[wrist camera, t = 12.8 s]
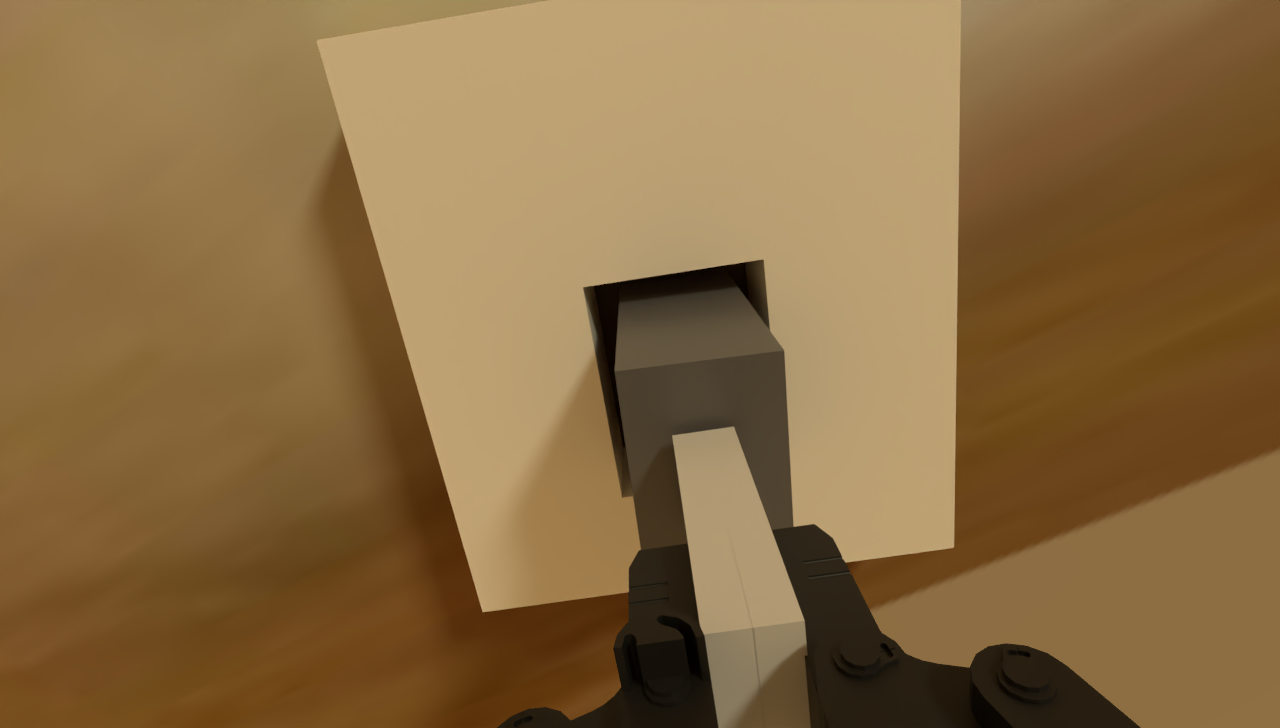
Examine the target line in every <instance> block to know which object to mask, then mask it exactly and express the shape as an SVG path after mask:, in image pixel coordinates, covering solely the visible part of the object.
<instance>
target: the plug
mask: <svg viewBox="0 0 1280 728" xmlns="http://www.w3.org/2000/svg"><path fill="white" fill-rule="evenodd" d="M615 378H616V385H617V391H618V398H619V405H620V412H621V418H622V425H623V432H624V439H625V445H626V452H627V459H628V466H629V472H630V479H631V486H632V493H633V499H634V506H635V513H636V520H637V526H638V533H639V540H640V547H641V550H645V549H652V548H659V547H666V546H673V545H681V544H688V541H687V534H686V527H685V520H684V513H683V506H682V499H681V493H680V486H679V479H678V472H677V465H676V458H675V451H674V445H673V438H672V435H679V434H686V433H693V432H700V431H706V430H713V429H720V428H727V427H734V428H735V431H736V434H737V436H738V439H739V442H740V445H741V447H742V450H743V453H744V456H745V458H746V461H747V464H748V467H749V469H750V472H751V475H752V478H753V480H754V483H755V486H756V489H757V491H758V494H759V497H760V500H761V502H762V505H763V508H764V511H765V513H766V516H767V519H768V522H769V524H770V527H771V530H775V529H782V528H789V527H794V525H793V506H792V487H791V468H790V449H789V430H788V411H787V393H786V374H785V355H784V349H783V348H782V347H781V345H780V344H779V343H778V341H777V340H776V338H775V337H774V336H773V334H772V333H771V332H770V330H769V329H768V327H767V326H766V325H765V323H764V322H763V321H762V319H761V318H760V316H759V315H758V314H757V312H756V311H755V310H754V308H753V307H752V305H751V304H750V303H749V301H748V300H747V298H746V297H745V296H744V294H743V293H742V292H741V290H740V289H739V287H738V286H737V285H736V283H735V282H734V281H733V279H732V278H731V276H730V275H729V274H728V272H727V271H726V270H725V268H722V269H715V270H707V271H699V272H691V273H683V274H675V275H667V276H660V277H652V278H644V279H636V280H628V281H621V282H620V295H619V311H618V326H617V341H616V357H615Z"/></svg>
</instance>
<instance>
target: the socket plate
mask: <svg viewBox="0 0 1280 728" xmlns="http://www.w3.org/2000/svg"><path fill="white" fill-rule="evenodd" d="M960 39H961V0H548V1H542V2H537V3H531V4H525V5H519V6H513V7H508V8H502V9H496V10H490V11H484V12H478V13H473V14H467V15H461V16H455V17H449V18H443V19H438V20H432V21H426V22H420V23H414V24H409V25H403V26H397V27H391V28H385V29H379V30H374V31H368V32H362V33H356V34H350V35H344V36H339V37H333V38H327V39H321V40H316V41H317V44H318V48H319V51H320V54H321V58H322V61H323V65H324V68H325V72H326V75H327V79H328V82H329V85H330V89H331V92H332V96H333V99H334V103H335V106H336V110H337V113H338V116H339V120H340V123H341V127H342V130H343V134H344V137H345V140H346V144H347V147H348V151H349V154H350V158H351V161H352V165H353V168H354V171H355V175H356V178H357V182H358V185H359V189H360V192H361V196H362V199H363V202H364V206H365V209H366V213H367V216H368V220H369V223H370V226H371V230H372V233H373V237H374V240H375V244H376V247H377V251H378V254H379V257H380V261H381V264H382V268H383V271H384V275H385V278H386V282H387V285H388V288H389V292H390V295H391V299H392V302H393V306H394V309H395V312H396V316H397V319H398V323H399V326H400V330H401V333H402V337H403V340H404V343H405V347H406V350H407V354H408V357H409V361H410V364H411V368H412V371H413V374H414V378H415V381H416V385H417V388H418V392H419V395H420V398H421V402H422V405H423V409H424V412H425V416H426V419H427V423H428V426H429V429H430V433H431V436H432V440H433V443H434V447H435V450H436V454H437V457H438V460H439V464H440V467H441V471H442V474H443V478H444V481H445V484H446V488H447V491H448V495H449V498H450V502H451V505H452V509H453V512H454V515H455V519H456V522H457V526H458V529H459V533H460V536H461V540H462V543H463V546H464V550H465V553H466V557H467V560H468V564H469V567H470V570H471V574H472V577H473V581H474V584H475V588H476V591H477V595H478V598H479V601H480V605H481V608H482V612H488V611H495V610H503V609H510V608H517V607H525V606H532V605H539V604H546V603H554V602H561V601H568V600H576V599H583V598H590V597H598V596H605V595H612V594H619V593H627V592H629V567H630V565H631V563H632V562H633V560H634V558H635V556H636V555H637V553H638V551H639V550H641V547H640V540H639V533H638V526H637V520H636V513H635V506H634V499H633V493H632V486H631V479H630V472H629V466H628V459H627V452H626V447H623V443H622V438H621V432H620V427H619V421H618V416H617V410H616V404H615V399H614V393H613V388H612V382H611V377H610V371H609V366H608V360H607V355H606V349H605V344H604V338H603V333H602V327H601V321H600V316H599V310H598V305H597V299H596V294H595V288H594V286H595V285H601V284H608V283H614V282H621V281H627V280H633V279H640V278H646V277H653V276H659V275H666V274H672V273H679V272H685V271H692V270H698V269H705V268H711V267H717V266H724V265H730V264H737V263H743V262H745V269H746V279H747V289H748V299H749V303H750V304H751V305H752V307H753V308H754V310H755V311H756V312H757V314H758V315H759V316H760V318H761V319H762V321H763V322H764V323H765V325H766V326H767V327H768V329H769V330H770V332H771V333H772V334H773V336H774V337H775V338H776V340H777V341H778V343H779V344H780V345H781V347H782V348H783V349H784V355H785V374H786V393H787V411H788V430H789V449H790V468H791V487H792V506H793V525H794V527H796V526H803V525H811V524H815V525H816V526H818V527H819V528H820V529H822V530H823V531H824V532H826V533H827V534H828V535H830V536H831V537H832V538H833V539H834V541H835V543H836V545H837V547H838V549H839V551H840V553H841V555H842V559H844V561H845V563H846V562H853V561H860V560H868V559H875V558H882V557H890V556H897V555H904V554H911V553H919V552H926V551H933V550H941V549H948V548H954V505H955V428H956V350H957V272H958V195H959V117H960Z"/></svg>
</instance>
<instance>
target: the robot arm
mask: <svg viewBox="0 0 1280 728" xmlns="http://www.w3.org/2000/svg"><path fill="white" fill-rule="evenodd" d="M672 438H673V445H674V451H675V458H676V465H677V472H678V479H679V486H680V493H681V499H682V506H683V513H684V520H685V527H686V534H687V541H688V544H681V545H673V546H666V547H659V548H652V549H645V550H639V551H638V553H637V555H636V556H635V558H634V560H633V562H632V563H631V565H630V567H629V622H628V623H627V624H626V625H625V626H624V627H623V629H622V630H621V631H620V632H619V633H618V635H617V637H616V641H615V645H614V648H613V649H614V653H615V658H616V663H617V668H618V672H619V677H620V682H621V688H620V690H619V691H618V692H617V693H616V695H615V696H614V697H613V698H612V699H610V700H609V701H608V702H607V703H606V704H604V705H603V706H601V707H599V708H597V709H595V710H594V711H592V712H590V713H587V714H585V715H583V716H580V717H578V718H576V719H573V720H569V719H568V718H567V717H566V716H565V715H564V714H563V713H562V712H561V711H557V710H554V709H550V708H546V707H543V708H533V709H527V710H525V711H522V712H520V713H518V714H515V715H513V716H511V717H510V718H509V719H507V720H506V721H505V722H504V723H502V724H501V725H500V726H499V727H497V728H1140V727H1139V726H1138V725H1137V724H1136V723H1134V722H1133V721H1132V720H1131V719H1129V718H1128V717H1127V716H1126V715H1125V714H1124V713H1123V712H1121V711H1120V710H1119V709H1118V708H1116V707H1115V706H1114V705H1113V704H1112V703H1110V702H1109V701H1108V700H1107V699H1106V698H1104V697H1103V696H1102V695H1101V694H1100V693H1099V692H1097V691H1096V690H1095V689H1094V688H1093V687H1091V686H1090V685H1089V684H1088V683H1087V682H1086V681H1084V680H1083V679H1082V678H1081V677H1080V676H1078V675H1077V674H1076V673H1075V672H1074V671H1072V670H1071V669H1070V668H1069V667H1068V666H1066V665H1065V664H1063V663H1062V662H1060V661H1059V660H1057V659H1056V658H1054V657H1052V656H1051V655H1049V654H1048V653H1045V652H1042V651H1039V650H1037V649H1034V648H1031V647H1028V646H1024V645H1015V644H1000V645H994V646H988V647H987V648H985V649H984V650H982V651H980V652H979V653H977V654H976V656H975V657H974V660H973V661H972V664H971V666H970V668H967V667H959V666H951V665H943V664H936V663H932V662H927V661H922V660H920V659H917V658H914V657H912V656H909V655H907V654H906V653H904V651H903V650H902V649H901V648H900V646H899V645H898V644H897V643H896V642H895V641H894V640H892V639H890V638H889V637H887V636H886V635H884V634H882V633H881V631H880V630H879V628H878V626H877V624H876V622H875V620H874V618H873V616H872V614H871V612H870V610H869V608H868V606H867V604H866V602H865V600H864V598H863V596H862V594H861V592H860V590H859V588H858V586H857V584H856V583H855V581H854V579H853V577H852V575H851V574H850V571H849V569H848V567H847V565H846V563H845V561H844V559H842V555H841V553H840V551H839V549H838V547H837V545H836V543H835V541H834V539H833V538H832V537H831V536H830V535H828V534H827V533H826V532H824V531H823V530H822V529H820V528H819V527H818V526H816V525H815V524H811V525H803V526H796V527H789V528H782V529H775V530H771V527H770V524H769V522H768V519H767V516H766V513H765V511H764V508H763V505H762V502H761V500H760V497H759V494H758V491H757V489H756V486H755V483H754V480H753V478H752V475H751V472H750V469H749V467H748V464H747V461H746V458H745V456H744V453H743V450H742V447H741V445H740V442H739V439H738V436H737V434H736V431H735V428H734V427H727V428H720V429H713V430H706V431H700V432H693V433H686V434H679V435H672Z"/></svg>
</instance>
